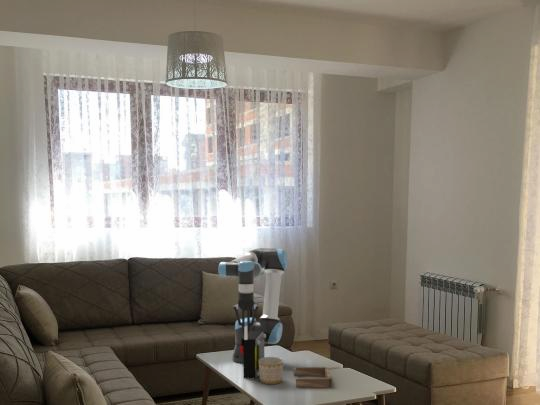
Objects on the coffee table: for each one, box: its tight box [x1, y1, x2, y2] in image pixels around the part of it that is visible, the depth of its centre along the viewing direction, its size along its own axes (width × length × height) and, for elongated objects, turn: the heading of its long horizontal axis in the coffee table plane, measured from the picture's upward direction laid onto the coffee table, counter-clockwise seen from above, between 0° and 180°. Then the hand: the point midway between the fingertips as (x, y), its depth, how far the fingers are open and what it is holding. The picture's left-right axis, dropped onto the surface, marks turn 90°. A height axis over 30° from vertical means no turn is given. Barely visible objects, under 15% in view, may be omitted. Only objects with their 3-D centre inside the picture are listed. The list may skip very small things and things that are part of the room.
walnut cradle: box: [293, 366, 332, 388], centre depth 273 cm, size 18×17×4 cm
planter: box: [258, 356, 285, 385], centre depth 273 cm, size 13×13×10 cm
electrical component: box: [240, 331, 266, 379], centre depth 286 cm, size 18×10×20 cm, turn 168°
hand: (245, 339), depth 271 cm, fingers closed
